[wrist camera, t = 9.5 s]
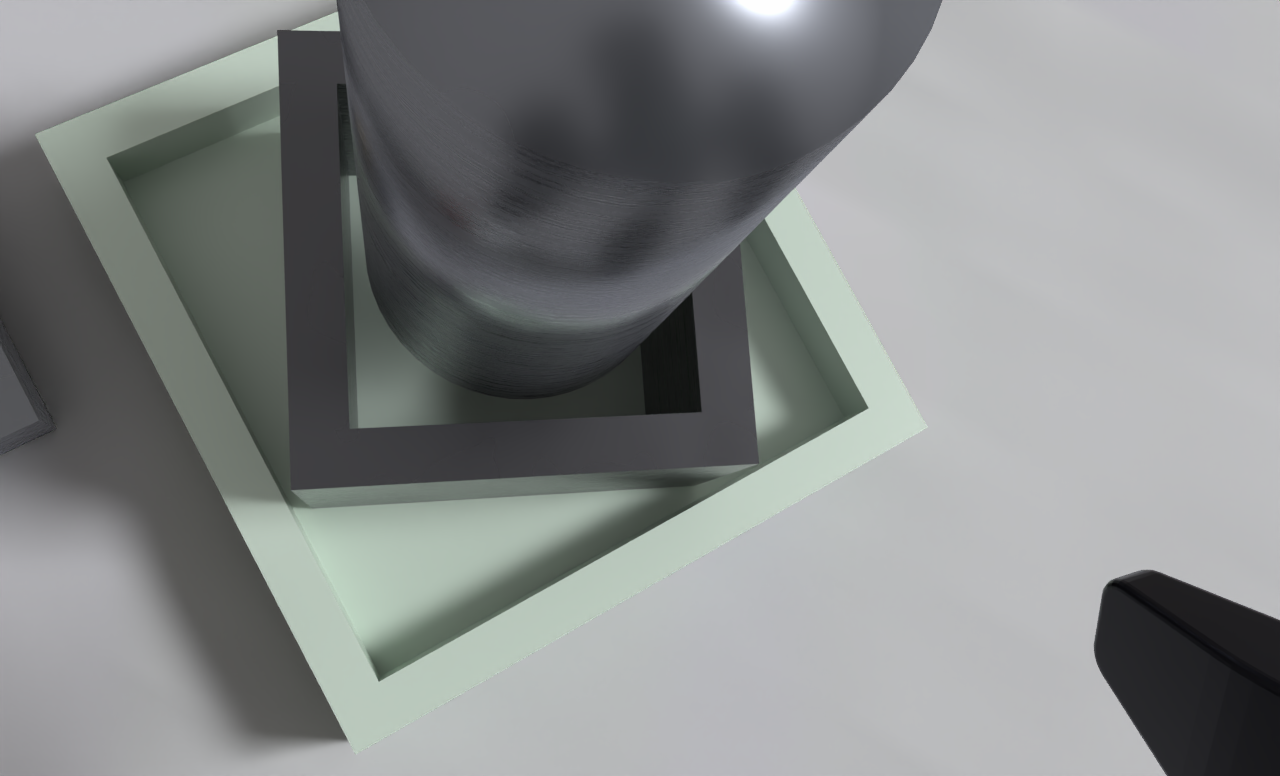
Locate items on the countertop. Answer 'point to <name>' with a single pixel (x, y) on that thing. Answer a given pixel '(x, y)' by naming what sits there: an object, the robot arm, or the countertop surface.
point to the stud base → (18, 400)
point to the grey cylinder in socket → (552, 221)
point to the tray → (431, 408)
